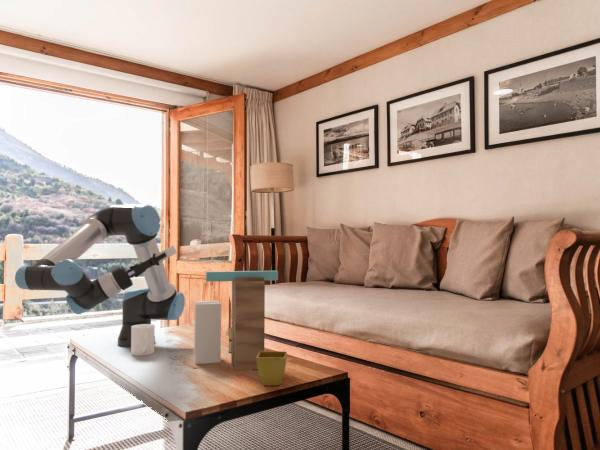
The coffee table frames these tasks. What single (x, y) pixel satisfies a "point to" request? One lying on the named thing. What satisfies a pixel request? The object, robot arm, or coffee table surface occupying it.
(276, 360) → the flower pot
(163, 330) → the coffee table surface
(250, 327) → the stand
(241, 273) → the block
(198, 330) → the tall white pillar
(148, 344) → the mug
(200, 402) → the coffee table surface
